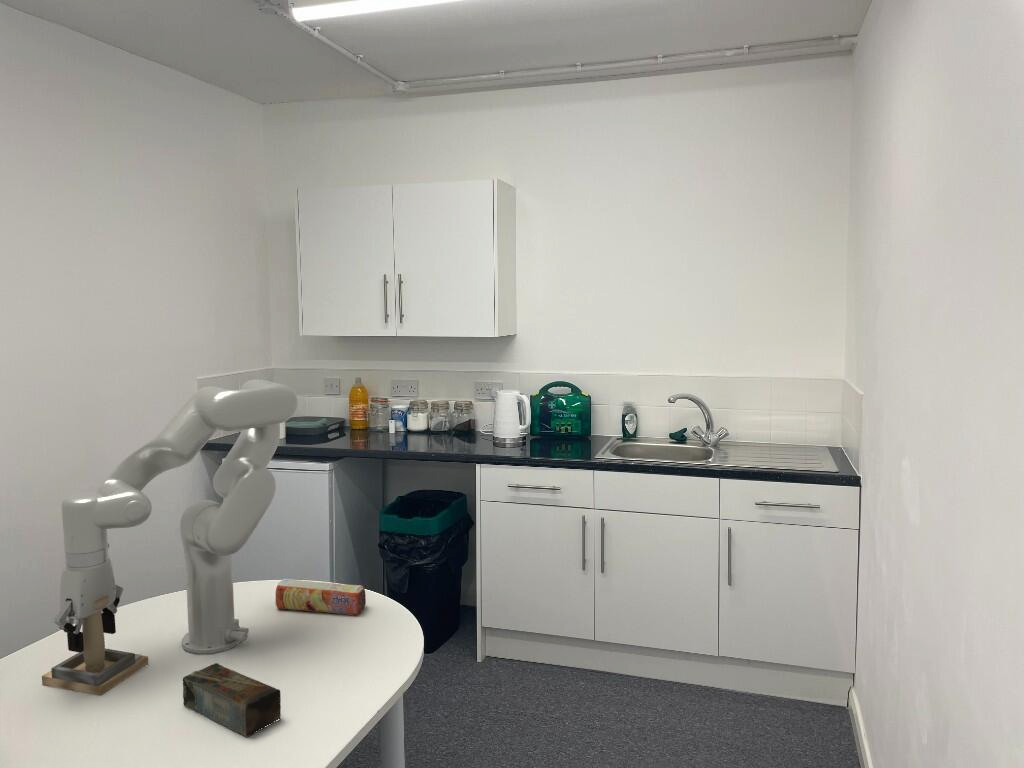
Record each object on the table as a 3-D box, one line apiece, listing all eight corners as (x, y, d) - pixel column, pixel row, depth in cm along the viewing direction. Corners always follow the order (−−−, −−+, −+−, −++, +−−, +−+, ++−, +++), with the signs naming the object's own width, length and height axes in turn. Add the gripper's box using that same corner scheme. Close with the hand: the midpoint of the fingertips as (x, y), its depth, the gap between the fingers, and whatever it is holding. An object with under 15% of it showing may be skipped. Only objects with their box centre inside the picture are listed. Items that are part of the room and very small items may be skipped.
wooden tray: (148, 664, 171) (147, 647, 170) (100, 695, 158) (99, 677, 158) (92, 655, 174) (91, 638, 174) (42, 684, 162) (40, 666, 162)
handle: (103, 676, 162) (99, 604, 160) (72, 675, 162) (67, 602, 160) (117, 664, 167) (113, 594, 164) (86, 663, 167) (82, 592, 165)
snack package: (367, 607, 201) (367, 581, 200) (358, 618, 194) (357, 591, 193) (285, 601, 204) (284, 574, 203) (273, 612, 197) (272, 585, 196)
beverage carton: (218, 689, 162) (216, 657, 161) (283, 720, 151) (283, 686, 150) (181, 706, 155) (180, 673, 154) (247, 741, 144) (246, 705, 143)
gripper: (104, 540, 170) (109, 621, 173) (34, 570, 154) (41, 658, 156) (134, 544, 168) (139, 626, 171) (67, 574, 152) (73, 664, 154)
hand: (92, 641), depth 163 cm, fingers open, 7 cm apart
